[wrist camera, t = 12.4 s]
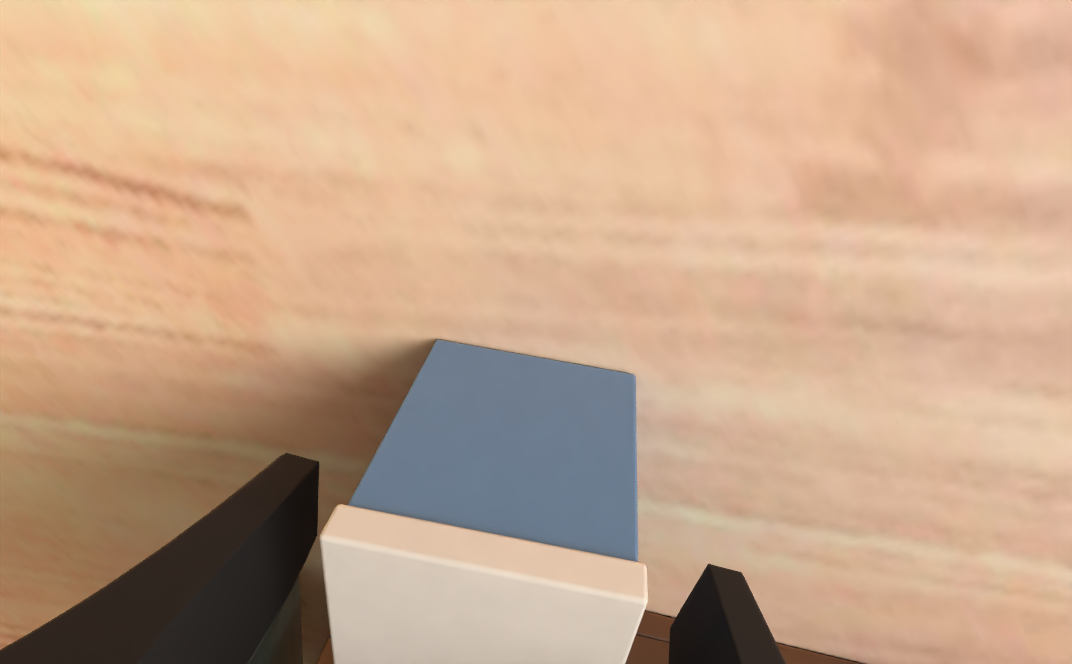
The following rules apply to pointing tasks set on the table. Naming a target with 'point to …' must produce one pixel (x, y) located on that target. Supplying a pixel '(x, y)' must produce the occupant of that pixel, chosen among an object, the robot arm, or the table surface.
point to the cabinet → (654, 633)
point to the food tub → (493, 520)
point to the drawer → (287, 636)
